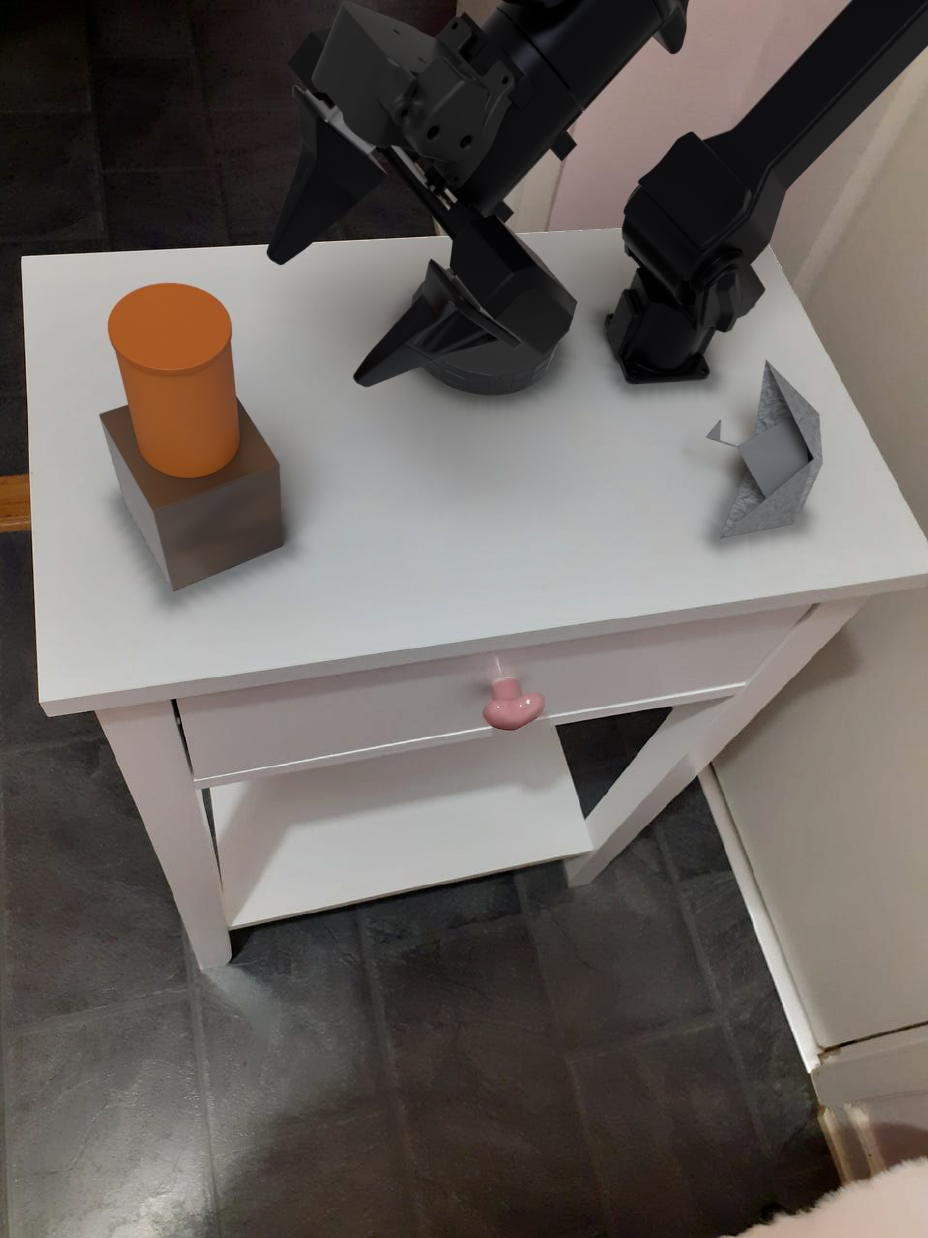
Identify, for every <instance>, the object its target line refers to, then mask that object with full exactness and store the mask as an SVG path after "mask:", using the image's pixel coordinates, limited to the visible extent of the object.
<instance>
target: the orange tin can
mask: <svg viewBox="0 0 928 1238" xmlns="http://www.w3.org/2000/svg"><path fill="white" fill-rule="evenodd" d="M232 325H233V323H232V318H231V316H230V313H229V311H228V310H227V308H226V307H225V306H224V304H223V303H222V302H221V301H220V300H219V299H218V298H217V297H216V296H214V295H213V294H211V293H210V292H208V291H206V290H205V289H202V288H200V287H197V286H194V285H190V284H186V283H179V282H160V283H153V284H148V285H145V286H142V287H138V288H136V289H134V290H133V291H130V292H129V293H127V294H125V295H124V296H123V297H121V299H120V300H118V301H117V303H116V304H115V305H114V306H113V308H112V310H111V311H110V314H109V315H108V320H107V334H108V338H109V341H110V344H111V346H112V348H113V350H114V353H115V356H116V361H117V364H118V369H119V372H120V377H121V381H122V385H123V389H124V393H125V398H126V401H127V405H128V406H129V410H130V414H131V418H132V422H133V426H134V430H135V434H136V438H137V443H138V447H139V450H140V452H141V454H142V456H143V457H144V459H145V460H146V461H147V462H148V463H149V464H150V465H151V466H152V467H154V468H155V469H157V470H158V471H160V472H162V473H165V474H167V475H170V476H174V477H180V478H196V477H202V476H206V475H209V474H212V473H214V472H216V471H219V470H220V469H222V468H223V467H225V466H226V465H227V464H228V463H229V462H230V461H231V460H232V459H233V457H234V456H235V454H236V452H237V450H238V447H239V444H240V432H239V421H238V410H237V400H236V396H237V392H236V391H237V389H236V379H235V369H234V358H233V348H232V338H233V326H232Z"/></svg>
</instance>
